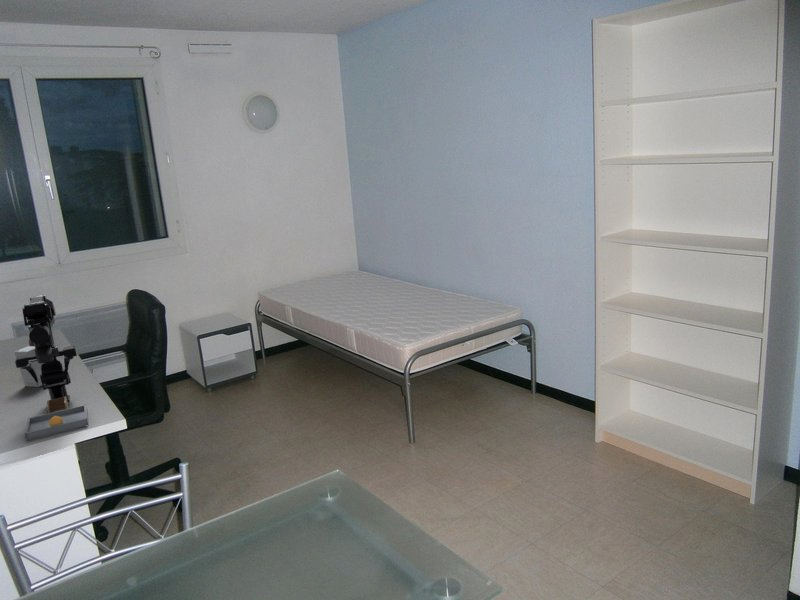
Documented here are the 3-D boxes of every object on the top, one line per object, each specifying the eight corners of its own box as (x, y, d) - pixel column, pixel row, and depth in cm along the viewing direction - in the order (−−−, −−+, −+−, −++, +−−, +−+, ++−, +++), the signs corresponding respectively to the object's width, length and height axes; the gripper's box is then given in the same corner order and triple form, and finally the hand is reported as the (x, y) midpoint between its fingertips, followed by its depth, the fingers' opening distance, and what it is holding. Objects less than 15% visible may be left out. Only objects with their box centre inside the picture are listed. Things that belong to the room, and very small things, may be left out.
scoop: (50, 412, 221) (47, 400, 220) (68, 407, 223) (66, 396, 222) (49, 418, 214) (46, 406, 213) (68, 414, 217) (65, 402, 216)
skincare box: (51, 382, 255) (43, 345, 251) (35, 388, 248) (26, 351, 245) (38, 380, 258) (29, 344, 255) (22, 386, 252) (13, 350, 248)
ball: (51, 431, 203) (49, 421, 205) (64, 428, 205) (62, 418, 207) (49, 426, 200) (47, 415, 202) (62, 422, 202) (60, 412, 204)
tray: (29, 424, 211) (27, 418, 210) (87, 411, 218) (86, 404, 218) (26, 440, 197) (24, 433, 197) (88, 425, 205) (86, 418, 205)
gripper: (9, 348, 204) (20, 392, 208) (71, 336, 212) (81, 379, 216) (12, 341, 214) (22, 383, 217) (72, 330, 222) (81, 370, 225)
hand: (52, 379), depth 219 cm, fingers open, 9 cm apart
